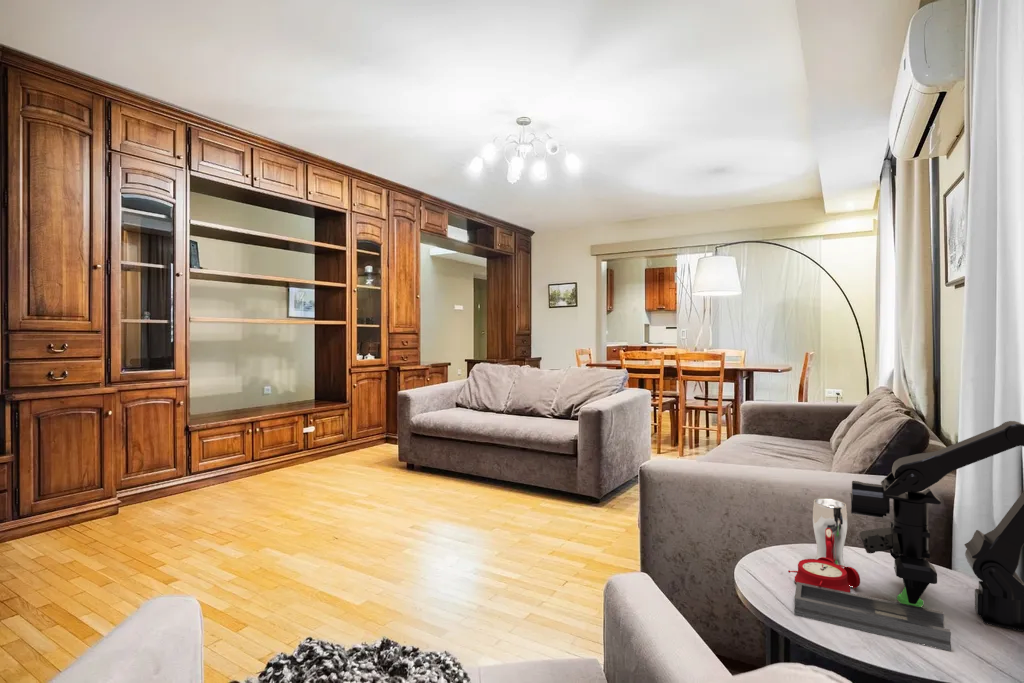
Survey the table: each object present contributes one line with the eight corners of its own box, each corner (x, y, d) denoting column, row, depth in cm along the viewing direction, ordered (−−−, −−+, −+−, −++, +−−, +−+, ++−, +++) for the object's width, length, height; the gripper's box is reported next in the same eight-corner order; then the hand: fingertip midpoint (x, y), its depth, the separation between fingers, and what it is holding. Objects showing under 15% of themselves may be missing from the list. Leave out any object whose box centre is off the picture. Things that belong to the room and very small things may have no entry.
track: (941, 625, 99) (941, 609, 99) (951, 651, 91) (951, 634, 91) (796, 594, 112) (796, 580, 111) (794, 614, 104) (794, 599, 104)
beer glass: (834, 575, 120) (834, 509, 119) (806, 562, 126) (805, 500, 126) (854, 568, 122) (854, 504, 122) (826, 557, 129) (825, 496, 128)
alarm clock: (780, 565, 116) (823, 539, 122) (784, 592, 117) (827, 564, 123) (826, 586, 107) (870, 556, 113) (830, 614, 108) (874, 583, 114)
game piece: (896, 595, 111) (896, 566, 110) (921, 600, 108) (921, 571, 108) (898, 604, 107) (898, 575, 107) (925, 610, 105) (925, 580, 105)
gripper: (860, 501, 119) (860, 569, 120) (865, 529, 103) (865, 608, 104) (922, 509, 114) (922, 581, 114) (937, 540, 98) (937, 623, 98)
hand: (910, 597), depth 108 cm, fingers open, 5 cm apart
